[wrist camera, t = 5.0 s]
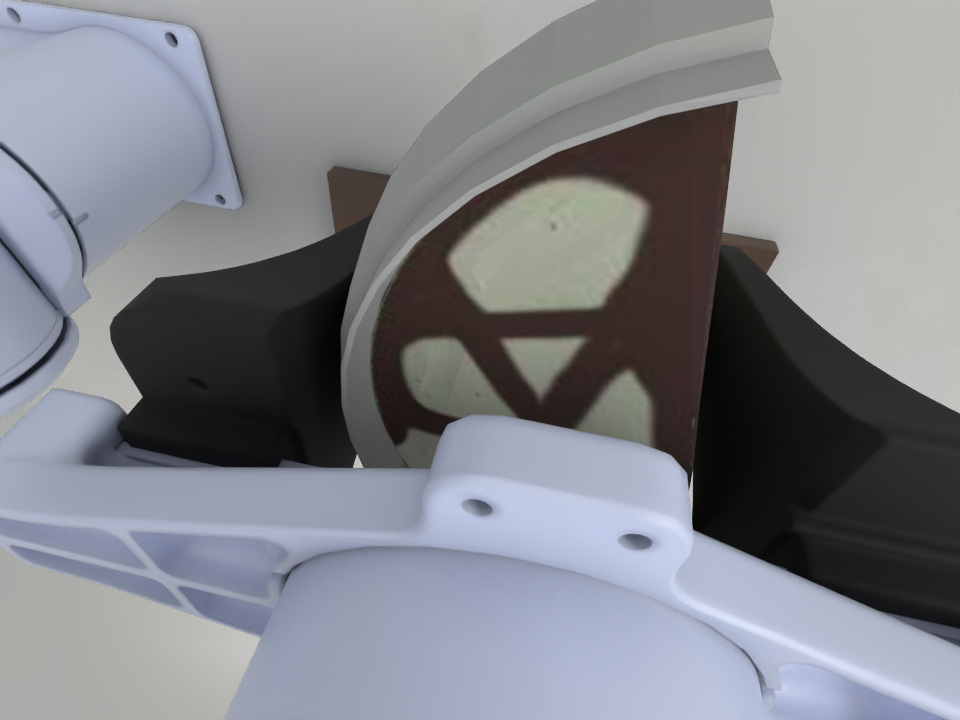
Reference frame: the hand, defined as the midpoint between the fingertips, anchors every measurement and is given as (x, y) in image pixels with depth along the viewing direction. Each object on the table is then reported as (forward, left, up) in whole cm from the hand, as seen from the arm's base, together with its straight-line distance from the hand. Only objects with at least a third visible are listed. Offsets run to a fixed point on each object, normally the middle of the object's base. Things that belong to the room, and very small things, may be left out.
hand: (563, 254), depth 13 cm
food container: (0, 0, -4) cm, 4 cm away
